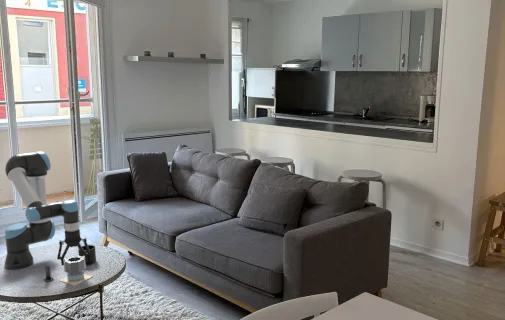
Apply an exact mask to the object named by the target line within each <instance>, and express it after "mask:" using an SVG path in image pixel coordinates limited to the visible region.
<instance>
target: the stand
mask: <svg viewBox="0 0 505 320" xmlns="http://www.w3.org/2000/svg"><path fill="white" fill-rule="evenodd" d="M44 270H45V271H44V272H45V278H43V282H45V283H48V282H53V280H54V277H52V275H51V265H49V264H46V265H45V266H44Z"/></svg>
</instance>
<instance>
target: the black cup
mask: <svg viewBox="0 0 505 320" xmlns="http://www.w3.org/2000/svg"><path fill="white" fill-rule="evenodd" d="M81 246H82V248H83V249H84V251H85V252H86V253H87V250H86V247H85V245H81ZM88 247H89V250H90V253H91V255H90V256H88V257H87V260H88V262H86V266H90V265H93V264H96V262H97V254H96V253H97V252H96V246H95V245H92V244H88ZM77 248H78V247H77ZM77 250H78V252H77V253H78V256H82V257H84V255H83V253H82V252H81V250H80V249H79V248H78V249H77Z"/></svg>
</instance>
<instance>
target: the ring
mask: <svg viewBox="0 0 505 320" xmlns="http://www.w3.org/2000/svg"><path fill="white" fill-rule="evenodd" d="M65 269H66V272H65V273H66V274H67V273H70V274H73V273H79V272H82V271H85V269H84V257H82V256H79V255H74V256H69V257H67V258H65Z"/></svg>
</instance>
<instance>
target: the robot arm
mask: <svg viewBox="0 0 505 320" xmlns="http://www.w3.org/2000/svg"><path fill="white" fill-rule="evenodd" d="M51 167H52V164H51V161H50V158H49V156H48V154H47V153H46V152H44V151H33V152H26V153H18V154H14V155H12V156H11V157H10V158H9V159H8V160H7V162H6V163H5V175H6V177H7V179H8V180H9V181H11V182H12V184H13V186H14V187H15V189H16V191H17V192H18V194H19V196H20V197H21V200H22V202H23V203H24V205H25V206H26V209H25V212H24V213H25V217H26V220H27V221H28V223H29V224H27V223H26V222H20V223H19V222H18V223H14V224H11V225H9V226H8V227H6V229H5V230H4V234H5V235H4V239H5V245H6V256H5V260H4V268H6V269H8V270H17V269H19V270H20V269H24V268H27V267H29V266H31V265H33V264H34V257H33V255H32V253H31V251H30V246H31V245H34V244H38V243H42V242H47V241H49V240H52V239H53V237H54V236H55V233H56V225H55V223H54V221H53V220H52V219H53V218H57V217H58V218H59V217H63V226H64V228H63V229H64V239H63V240H60V239H59V241H58V243H59V246H58V253H57V257H56V259H57V260H60V262H61V266H63V272H64V273H66V269H65V259H66V258H65V256H66V255H67V253H68V250H69V249H70V248H73V247H77V248H79V249H80V250H81V252H82V253H83V255H84V270H86V269H87V265H86V262H88V260H87V257H88V256H90V255H91V253H90V250H89V247H88V245H89V244H88V242H87V237H81V229H80V216H79V214H80V213H79V203H78V201H77V200H76V199H75V200H73V199H70V200H69V199H68V200H67V199H66V200H65V201H64V200H58V199H57V200H55V201H54V202H51V203H48V204H47V193H46V179H45V178H46V177H47V175H48V171H50V170H51ZM81 242H83V244H84V245H81ZM64 243H65V244H66V246H65V249H64V250H63V252H62V249H63V248H62V247H63V245H64ZM82 246H85V247H86V250H87V253H86V252H85V251H84V249H83V248H82ZM61 253H62V255H61Z"/></svg>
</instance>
